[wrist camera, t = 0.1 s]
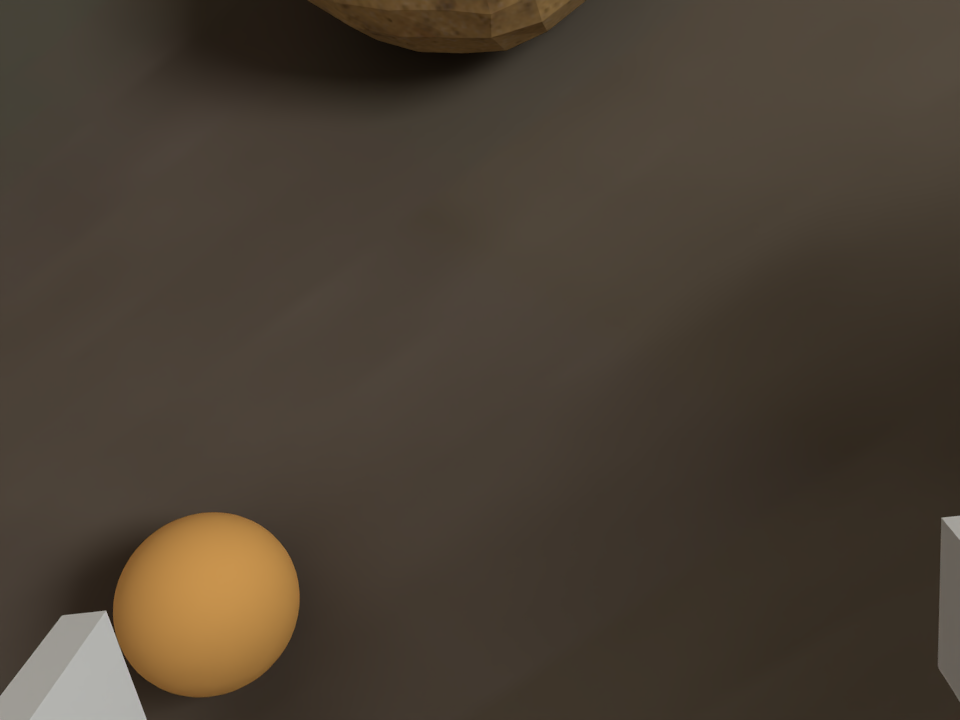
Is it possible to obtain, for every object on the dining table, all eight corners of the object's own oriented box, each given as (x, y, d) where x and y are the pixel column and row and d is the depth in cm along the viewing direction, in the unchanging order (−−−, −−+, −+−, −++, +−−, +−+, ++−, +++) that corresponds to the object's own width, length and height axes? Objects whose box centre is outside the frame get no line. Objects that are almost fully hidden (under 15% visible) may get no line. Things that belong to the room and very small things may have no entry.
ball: (327, 677, 29) (266, 700, 24) (167, 693, 30) (74, 718, 25) (317, 508, 31) (257, 495, 25) (164, 527, 31) (75, 517, 26)
